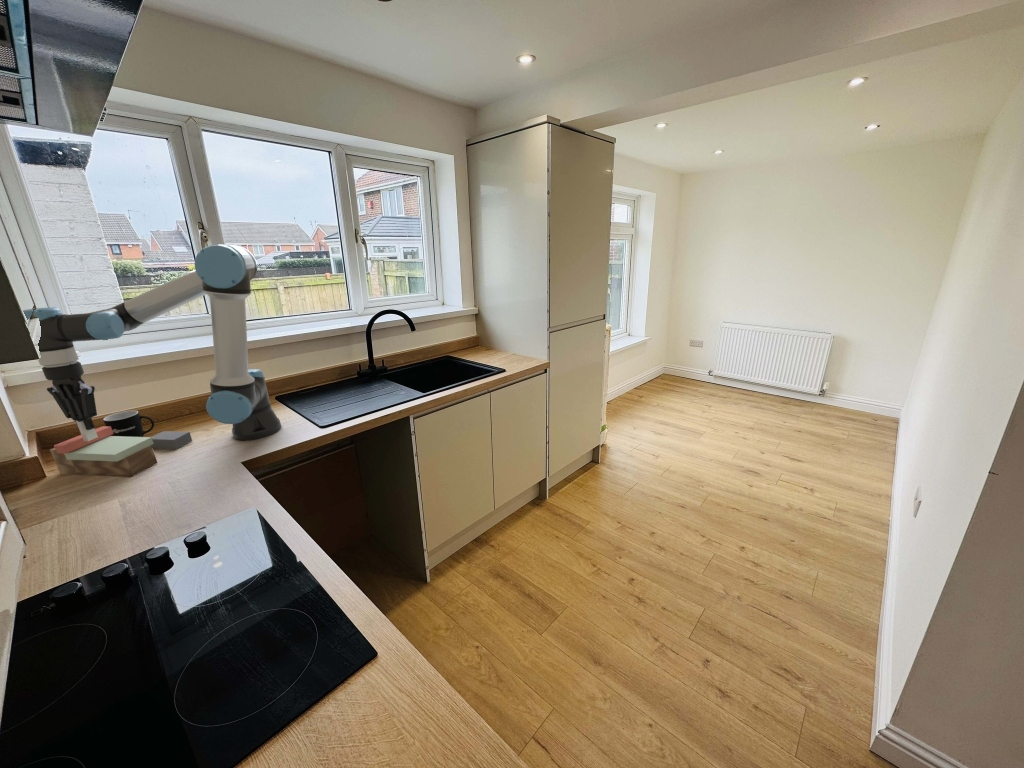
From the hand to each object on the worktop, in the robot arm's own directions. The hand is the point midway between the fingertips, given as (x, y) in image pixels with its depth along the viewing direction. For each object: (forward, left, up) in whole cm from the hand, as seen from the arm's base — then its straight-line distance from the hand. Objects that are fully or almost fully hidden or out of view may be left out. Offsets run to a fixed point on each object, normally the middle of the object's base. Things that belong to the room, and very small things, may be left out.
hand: (91, 439), depth 121 cm
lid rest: (-7, -16, -10) cm, 20 cm away
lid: (-5, 0, -4) cm, 7 cm away
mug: (+9, -18, -10) cm, 23 cm away
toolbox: (-2, 0, -10) cm, 10 cm away
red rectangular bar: (+2, 0, -1) cm, 3 cm away
